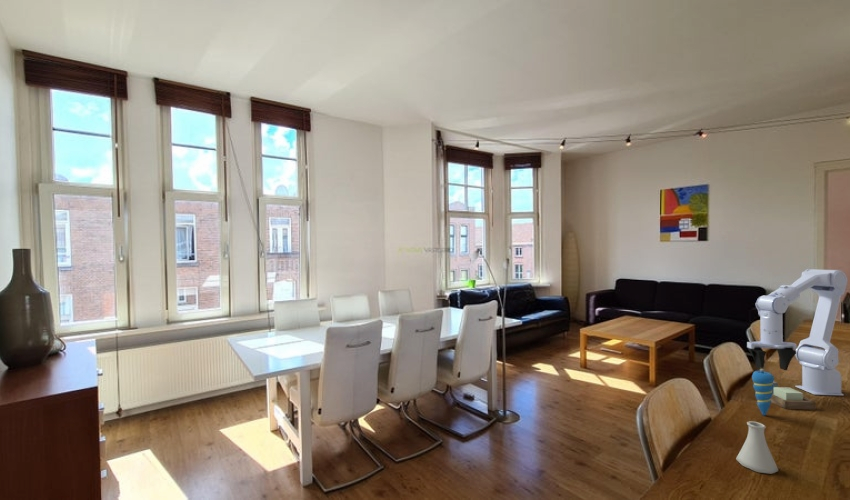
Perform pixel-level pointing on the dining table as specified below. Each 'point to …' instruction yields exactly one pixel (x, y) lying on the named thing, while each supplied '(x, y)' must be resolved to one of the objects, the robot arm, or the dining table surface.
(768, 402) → the ornament
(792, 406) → the frame
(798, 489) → the dining table surface
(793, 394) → the sage block
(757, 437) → the flask
